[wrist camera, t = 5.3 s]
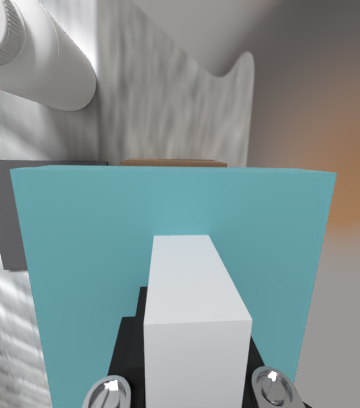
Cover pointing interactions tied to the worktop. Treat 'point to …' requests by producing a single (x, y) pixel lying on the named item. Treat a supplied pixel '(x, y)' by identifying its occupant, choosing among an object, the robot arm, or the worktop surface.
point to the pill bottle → (42, 58)
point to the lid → (171, 272)
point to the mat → (7, 211)
